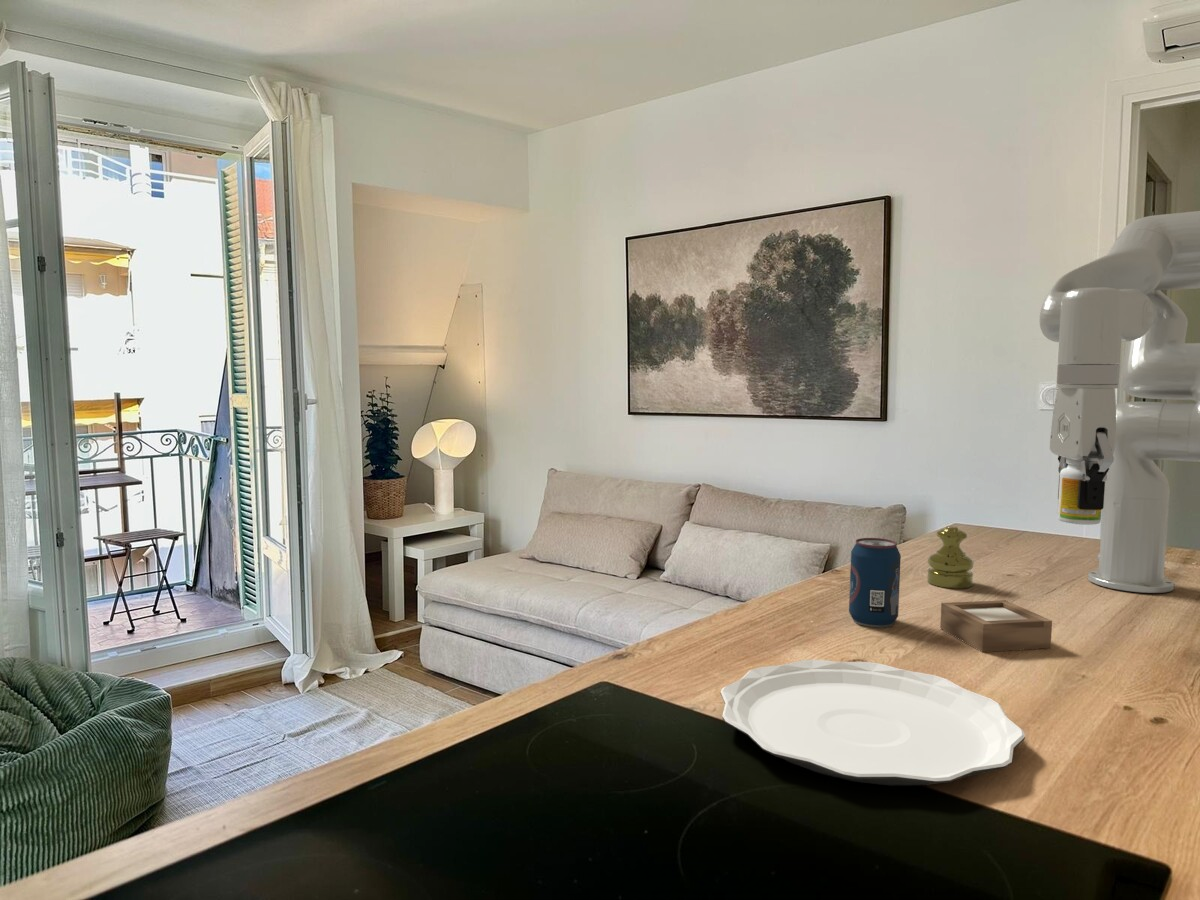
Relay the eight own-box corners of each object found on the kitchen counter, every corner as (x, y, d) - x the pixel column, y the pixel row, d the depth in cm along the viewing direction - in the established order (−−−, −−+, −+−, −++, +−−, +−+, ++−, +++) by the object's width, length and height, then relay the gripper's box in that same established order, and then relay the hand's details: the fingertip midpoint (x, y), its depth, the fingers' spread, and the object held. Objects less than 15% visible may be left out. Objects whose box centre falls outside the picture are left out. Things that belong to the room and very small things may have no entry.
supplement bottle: (1106, 526, 117) (1111, 456, 116) (1064, 524, 118) (1068, 455, 117) (1092, 518, 122) (1096, 452, 121) (1052, 517, 123) (1055, 451, 122)
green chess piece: (981, 585, 145) (984, 528, 144) (956, 591, 141) (959, 533, 140) (943, 576, 151) (945, 521, 150) (917, 582, 147) (920, 526, 146)
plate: (843, 833, 68) (844, 805, 68) (671, 701, 95) (671, 680, 95) (1090, 766, 80) (1091, 742, 80) (875, 665, 107) (876, 647, 107)
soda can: (846, 613, 128) (849, 535, 127) (894, 616, 127) (897, 538, 126) (850, 627, 122) (853, 545, 120) (901, 630, 120) (904, 547, 119)
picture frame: (940, 628, 121) (941, 602, 121) (1003, 625, 122) (1005, 600, 122) (982, 652, 111) (983, 624, 111) (1050, 648, 113) (1052, 620, 112)
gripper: (1034, 376, 127) (1028, 495, 129) (1087, 379, 110) (1079, 516, 112) (1086, 376, 126) (1079, 496, 128) (1149, 379, 109) (1139, 517, 111)
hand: (1079, 504), depth 120 cm, fingers closed on supplement bottle, 5 cm apart
